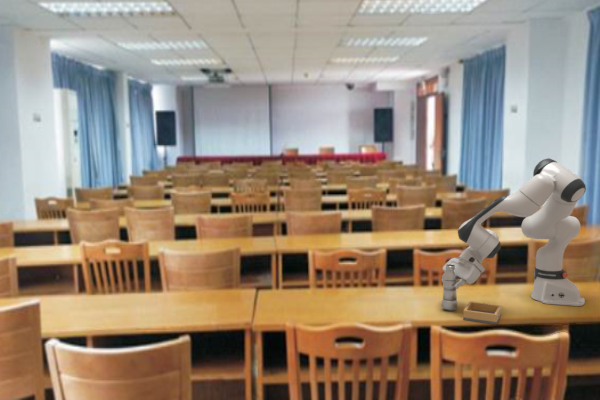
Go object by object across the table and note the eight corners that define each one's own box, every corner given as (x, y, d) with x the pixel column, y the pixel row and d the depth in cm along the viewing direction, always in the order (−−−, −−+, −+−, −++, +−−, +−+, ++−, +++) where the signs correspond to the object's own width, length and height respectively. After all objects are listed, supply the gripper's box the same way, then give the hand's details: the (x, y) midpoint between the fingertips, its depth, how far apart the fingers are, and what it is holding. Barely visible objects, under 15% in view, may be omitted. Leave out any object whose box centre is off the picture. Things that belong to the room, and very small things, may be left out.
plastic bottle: (458, 312, 236) (459, 267, 234) (441, 311, 238) (442, 266, 235) (456, 308, 243) (458, 263, 240) (441, 307, 244) (442, 263, 242)
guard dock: (501, 314, 233) (501, 305, 233) (496, 324, 222) (496, 314, 221) (469, 310, 239) (469, 301, 239) (463, 319, 228) (463, 310, 227)
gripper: (451, 251, 249) (432, 274, 248) (478, 261, 230) (457, 286, 228) (460, 260, 251) (440, 283, 249) (487, 270, 232) (466, 295, 230)
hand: (448, 284), depth 239 cm, fingers open, 8 cm apart
